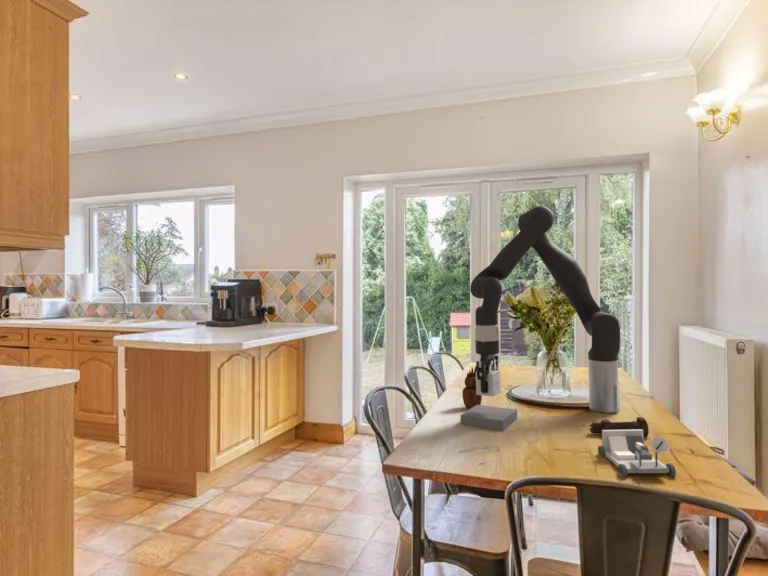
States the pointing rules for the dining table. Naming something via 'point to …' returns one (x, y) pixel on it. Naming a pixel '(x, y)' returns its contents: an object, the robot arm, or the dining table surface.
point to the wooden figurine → (471, 390)
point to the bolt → (619, 426)
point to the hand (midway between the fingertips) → (488, 390)
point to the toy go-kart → (634, 452)
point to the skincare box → (490, 384)
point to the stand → (489, 417)
